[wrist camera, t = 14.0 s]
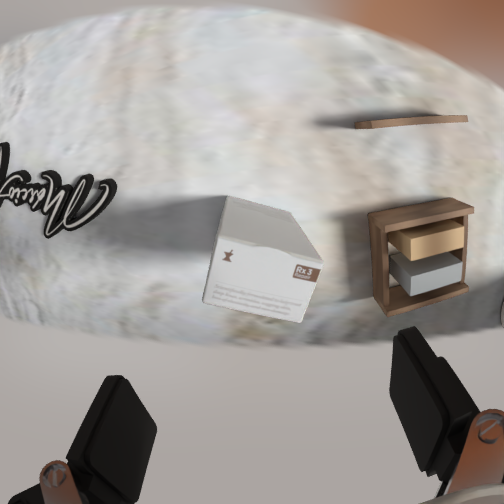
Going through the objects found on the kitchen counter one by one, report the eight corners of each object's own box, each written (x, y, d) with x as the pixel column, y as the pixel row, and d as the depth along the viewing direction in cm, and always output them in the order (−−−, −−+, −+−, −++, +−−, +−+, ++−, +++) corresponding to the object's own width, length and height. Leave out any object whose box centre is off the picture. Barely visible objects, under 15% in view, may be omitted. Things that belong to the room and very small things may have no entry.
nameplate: (115, 141, 24) (111, 248, 27) (122, 140, 25) (117, 243, 29) (-53, 148, 22) (-49, 222, 26) (-45, 146, 24) (-42, 218, 27)
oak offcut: (436, 212, 27) (464, 226, 23) (437, 230, 28) (463, 247, 23) (387, 222, 28) (410, 239, 23) (388, 241, 29) (411, 261, 24)
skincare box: (215, 238, 28) (194, 308, 17) (227, 191, 27) (211, 233, 15) (280, 254, 29) (299, 331, 18) (295, 209, 27) (327, 262, 16)
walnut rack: (443, 115, 24) (467, 115, 20) (449, 275, 30) (468, 291, 26) (354, 122, 24) (371, 121, 21) (373, 297, 31) (387, 317, 27)
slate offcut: (437, 243, 29) (462, 262, 24) (436, 260, 29) (461, 280, 25) (389, 255, 29) (410, 276, 24) (389, 273, 30) (410, 296, 25)
